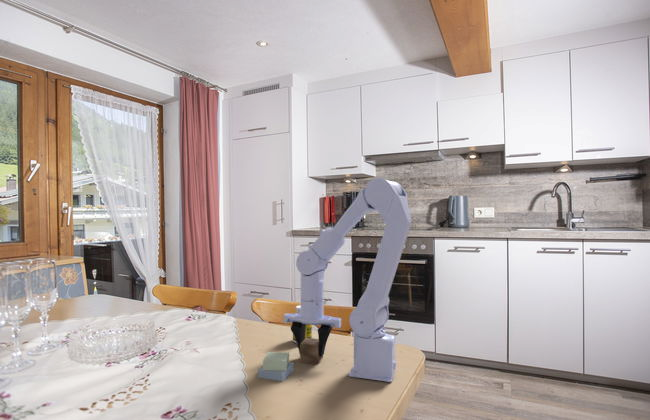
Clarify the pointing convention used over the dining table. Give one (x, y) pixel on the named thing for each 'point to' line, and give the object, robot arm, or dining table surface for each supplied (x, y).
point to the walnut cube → (310, 351)
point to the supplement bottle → (308, 327)
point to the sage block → (276, 361)
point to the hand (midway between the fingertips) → (311, 353)
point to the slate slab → (275, 373)
